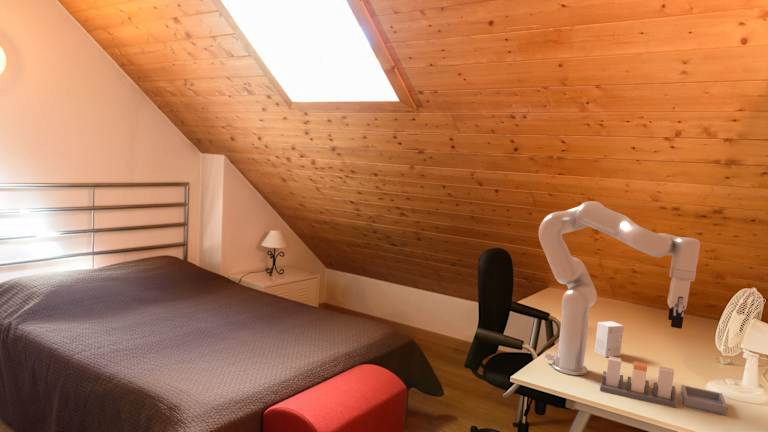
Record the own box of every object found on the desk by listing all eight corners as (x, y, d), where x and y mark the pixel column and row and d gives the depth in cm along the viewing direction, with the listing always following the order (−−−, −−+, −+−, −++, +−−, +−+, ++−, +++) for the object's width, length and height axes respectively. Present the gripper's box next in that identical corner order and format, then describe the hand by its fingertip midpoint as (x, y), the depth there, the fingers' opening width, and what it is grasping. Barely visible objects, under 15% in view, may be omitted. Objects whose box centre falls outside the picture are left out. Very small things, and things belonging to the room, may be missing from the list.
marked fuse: (630, 390, 184) (634, 364, 183) (630, 386, 188) (634, 360, 187) (643, 392, 182) (647, 367, 181) (643, 388, 186) (646, 363, 185)
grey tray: (683, 406, 177) (684, 397, 177) (680, 393, 188) (681, 384, 188) (726, 415, 173) (727, 406, 172) (720, 401, 183) (721, 393, 183)
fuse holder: (599, 390, 185) (603, 361, 184) (601, 380, 194) (604, 352, 193) (675, 407, 176) (679, 376, 175) (673, 396, 185) (677, 367, 184)
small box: (608, 350, 228) (612, 320, 227) (620, 356, 223) (624, 325, 221) (593, 352, 225) (597, 321, 224) (605, 357, 219) (609, 326, 218)
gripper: (667, 268, 190) (660, 315, 192) (672, 276, 174) (664, 328, 176) (691, 271, 187) (684, 319, 189) (698, 280, 171) (690, 333, 173)
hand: (674, 323), depth 183 cm, fingers open, 9 cm apart
